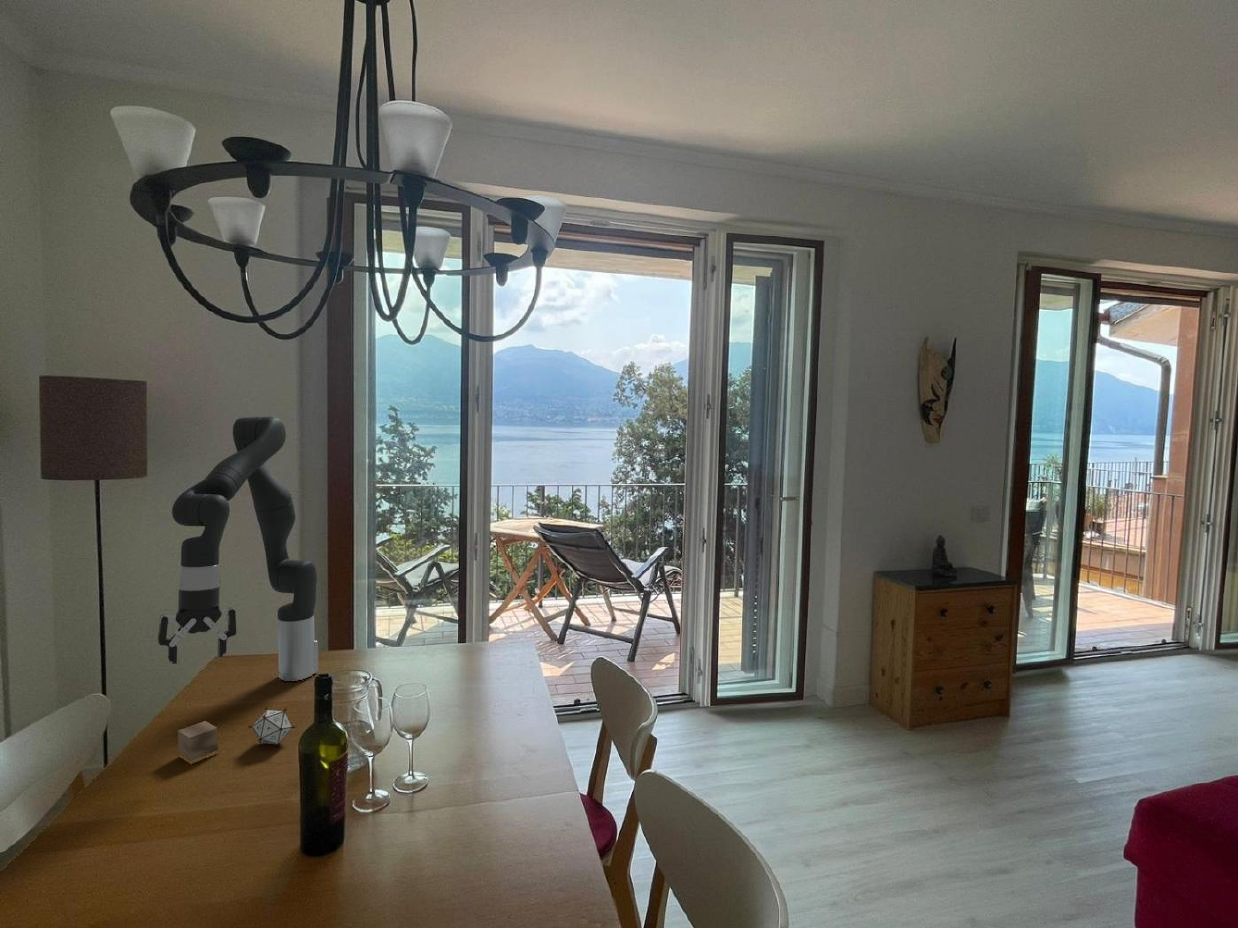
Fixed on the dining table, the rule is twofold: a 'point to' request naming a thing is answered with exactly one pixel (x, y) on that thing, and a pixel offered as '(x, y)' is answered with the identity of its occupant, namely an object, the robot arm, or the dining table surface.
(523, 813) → the dining table surface
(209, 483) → the robot arm
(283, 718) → the game die
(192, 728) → the wooden cube
